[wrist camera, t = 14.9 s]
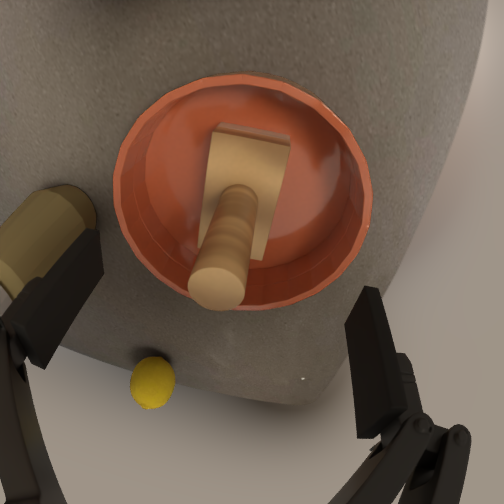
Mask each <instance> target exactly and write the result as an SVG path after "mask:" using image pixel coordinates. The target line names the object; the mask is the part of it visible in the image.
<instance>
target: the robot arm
mask: <svg viewBox="0 0 504 504" xmlns="http://www.w3.org/2000/svg"><path fill="white" fill-rule="evenodd" d="M103 275H104V269H103V261H102V253H101V244H100V234H99V230H94V229H90V228H86V229H85V230H84V231H83V232H82V233H81V234H80V235H79V236H78V238H77V239H76V240H75V241H74V242H73V243H72V244H71V245H70V246H69V248H68V249H67V250H66V251H65V252H64V253H63V254H62V256H61V257H60V258H59V259H58V260H57V261H56V262H55V264H54V265H53V266H52V267H51V268H50V270H49V271H48V272H47V273H46V274H45V276H44V277H43V278H41V277H38V276H37V277H35V278H33V279H32V280H30V281H29V282H28V283H27V284H26V285H25V286H24V288H23V289H22V291H20V293H19V294H18V295H17V298H15V299H14V300H13V301H12V303H11V304H10V305H9V307H8V308H7V309H6V311H5V312H4V313H3V315H2V316H1V317H0V479H1V483H2V486H3V489H4V493H5V496H6V502H5V503H4V504H67V502H66V500H65V498H64V495H63V493H62V491H61V488H60V486H59V483H58V481H57V478H56V475H55V473H54V470H53V467H52V465H51V462H50V459H49V456H48V453H47V450H46V447H45V444H44V441H43V438H42V434H41V430H40V427H39V424H38V419H37V416H36V412H35V408H34V404H33V399H32V395H31V390H30V386H29V381H28V376H27V371H26V365H25V363H24V360H25V359H26V357H27V356H28V358H29V360H30V362H31V363H32V364H33V365H36V366H38V367H40V368H42V369H44V370H45V369H46V367H47V365H48V363H49V361H50V360H51V358H52V356H53V354H54V353H55V351H56V349H57V347H58V346H59V344H60V342H61V341H62V339H63V337H64V336H65V334H66V332H67V331H68V329H69V327H70V326H71V324H72V322H73V321H74V319H75V317H76V316H77V314H78V313H79V311H80V310H81V308H82V306H83V305H84V303H85V302H86V300H87V299H88V297H89V296H90V294H91V292H92V291H93V289H94V288H95V286H96V285H97V283H98V282H99V280H100V279H101V278H102V276H103ZM344 325H345V332H346V339H347V346H348V354H349V362H350V370H351V379H352V386H353V396H354V407H355V418H356V430H357V438H359V439H373V438H375V437H376V436H377V435H378V434H381V441H380V442H378V443H377V444H376V445H374V446H373V447H372V448H371V449H370V451H372V452H371V453H370V454H369V456H368V457H367V458H366V460H365V461H364V462H363V463H362V465H361V466H360V467H359V468H358V470H357V471H356V472H355V473H354V474H353V476H352V477H351V478H350V479H349V481H348V482H347V483H346V484H345V485H344V486H343V487H342V489H341V490H340V491H339V492H338V493H337V494H336V495H335V496H334V497H333V499H332V500H331V501H330V502H329V503H328V504H391V503H392V502H393V501H394V499H395V498H396V496H397V495H398V493H399V492H400V490H401V489H402V487H403V486H404V484H405V486H404V489H403V492H402V494H401V497H400V499H399V502H398V504H459V501H460V497H461V493H462V489H463V484H464V480H465V475H466V470H467V465H468V460H469V454H470V448H471V435H470V432H469V431H468V429H467V428H466V427H465V426H463V425H460V424H457V425H454V426H453V427H451V428H450V429H446V428H443V427H440V426H437V425H434V423H433V421H432V419H431V418H430V417H429V416H428V415H427V414H425V413H423V410H422V405H421V401H420V397H419V392H418V388H417V384H416V383H415V381H416V380H415V376H414V375H413V374H414V372H413V368H412V364H411V362H410V360H409V359H408V357H407V356H406V354H405V353H396V350H395V346H394V342H393V339H392V335H391V331H390V327H389V324H388V320H387V317H386V313H385V309H384V306H383V302H382V299H381V296H380V292H379V289H378V288H374V287H369V286H364V288H363V290H362V292H361V294H360V295H359V297H358V299H357V301H356V303H355V305H354V307H353V309H352V311H351V313H350V315H349V316H348V318H347V320H346V322H345V324H344Z"/></svg>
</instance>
